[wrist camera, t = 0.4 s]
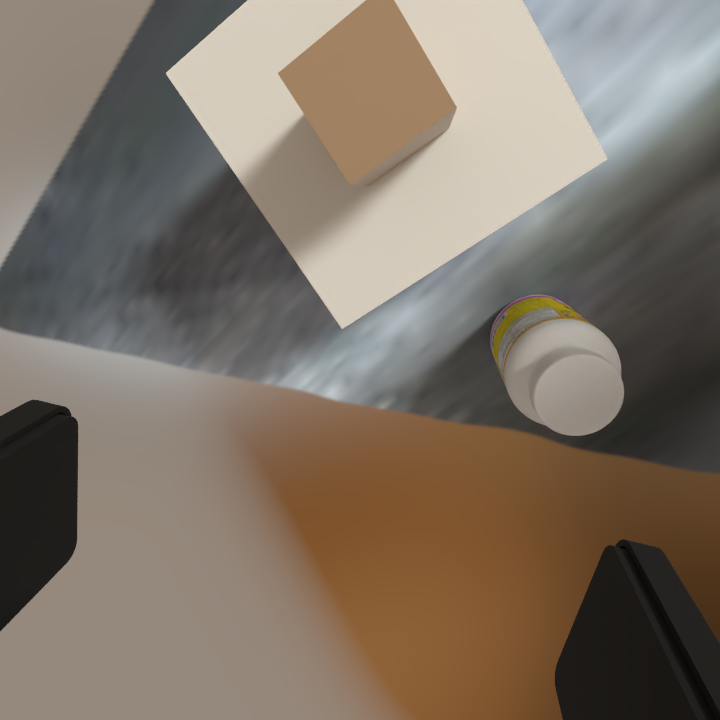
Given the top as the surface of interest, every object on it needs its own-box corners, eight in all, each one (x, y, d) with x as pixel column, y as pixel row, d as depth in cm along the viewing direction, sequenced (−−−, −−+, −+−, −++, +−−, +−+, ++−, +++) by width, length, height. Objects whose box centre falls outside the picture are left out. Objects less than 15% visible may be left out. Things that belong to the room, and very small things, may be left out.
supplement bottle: (592, 356, 41) (662, 428, 29) (508, 389, 42) (541, 471, 30) (560, 276, 39) (620, 316, 27) (474, 314, 41) (495, 367, 29)
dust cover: (430, -10, 34) (436, -313, 14) (533, 170, 37) (671, 149, 16) (270, 119, 38) (78, 35, 17) (373, 276, 40) (317, 370, 20)
